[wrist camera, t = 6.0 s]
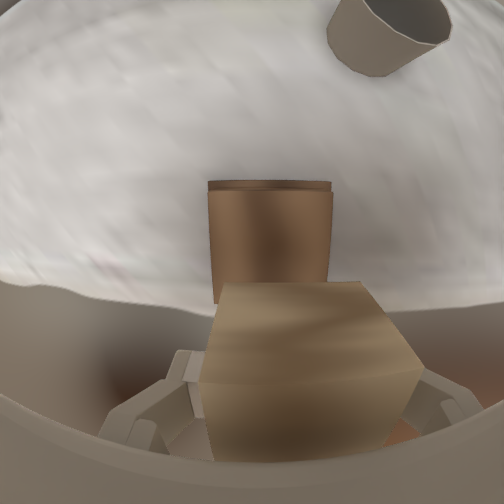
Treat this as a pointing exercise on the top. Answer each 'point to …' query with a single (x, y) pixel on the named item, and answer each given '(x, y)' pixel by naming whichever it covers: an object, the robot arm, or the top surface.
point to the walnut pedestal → (269, 231)
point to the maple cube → (302, 372)
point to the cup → (386, 33)
